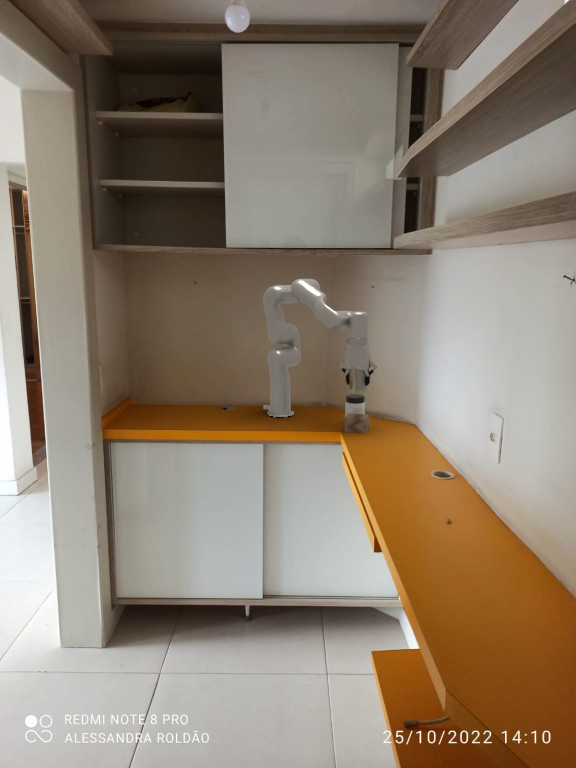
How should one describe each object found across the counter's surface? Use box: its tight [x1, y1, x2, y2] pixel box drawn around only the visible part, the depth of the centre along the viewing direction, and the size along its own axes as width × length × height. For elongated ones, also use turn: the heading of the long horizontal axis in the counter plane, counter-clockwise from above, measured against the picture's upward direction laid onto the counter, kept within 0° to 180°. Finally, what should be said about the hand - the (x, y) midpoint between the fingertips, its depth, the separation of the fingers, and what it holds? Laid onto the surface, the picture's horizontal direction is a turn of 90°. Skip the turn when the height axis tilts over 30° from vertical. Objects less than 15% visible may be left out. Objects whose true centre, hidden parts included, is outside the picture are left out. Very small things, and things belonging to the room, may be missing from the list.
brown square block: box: [343, 413, 370, 434], centre depth 231 cm, size 9×9×6 cm
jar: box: [344, 393, 366, 418], centre depth 242 cm, size 9×8×12 cm
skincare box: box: [348, 364, 367, 394], centre depth 227 cm, size 6×4×12 cm
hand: (357, 384), depth 228 cm, fingers closed on skincare box, 7 cm apart
